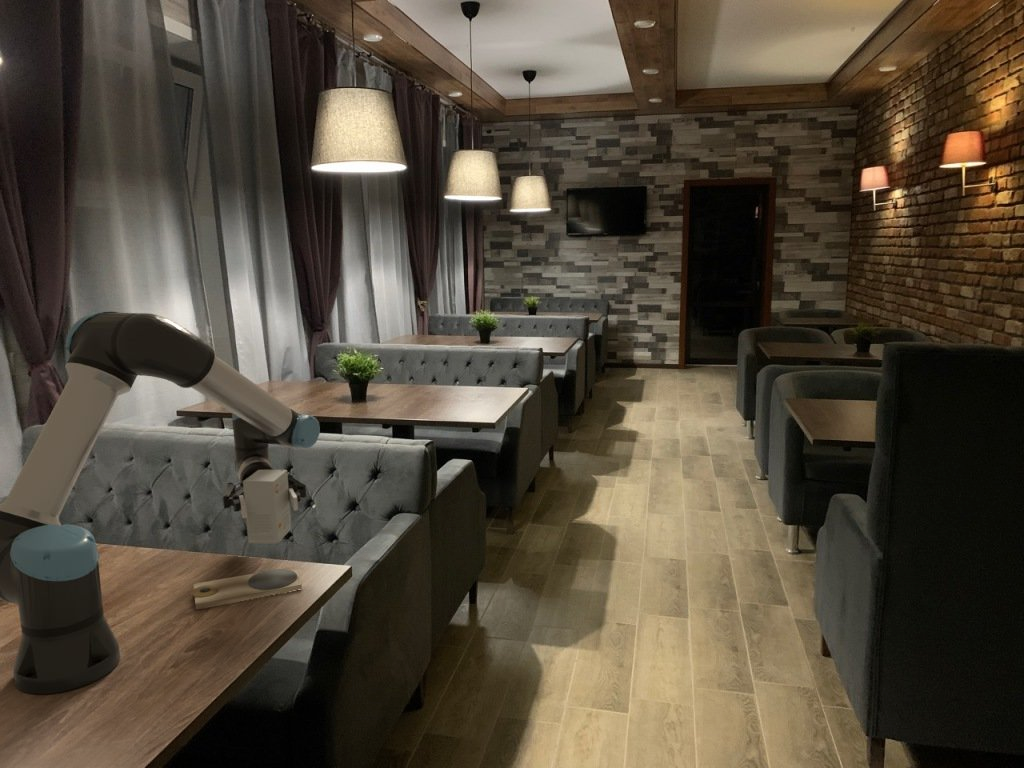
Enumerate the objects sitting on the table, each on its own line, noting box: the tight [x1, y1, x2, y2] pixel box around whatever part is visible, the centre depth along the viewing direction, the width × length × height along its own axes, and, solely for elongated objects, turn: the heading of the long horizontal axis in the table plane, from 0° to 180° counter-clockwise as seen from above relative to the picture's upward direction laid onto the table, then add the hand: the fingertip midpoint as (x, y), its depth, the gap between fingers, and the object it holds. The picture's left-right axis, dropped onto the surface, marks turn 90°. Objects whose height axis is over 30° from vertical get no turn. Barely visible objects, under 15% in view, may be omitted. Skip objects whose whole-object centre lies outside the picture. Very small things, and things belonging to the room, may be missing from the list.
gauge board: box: [191, 566, 303, 611], centre depth 155 cm, size 10×20×2 cm, turn 115°
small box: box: [243, 469, 292, 544], centre depth 154 cm, size 8×6×13 cm
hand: (270, 507), depth 150 cm, fingers closed on small box, 9 cm apart
